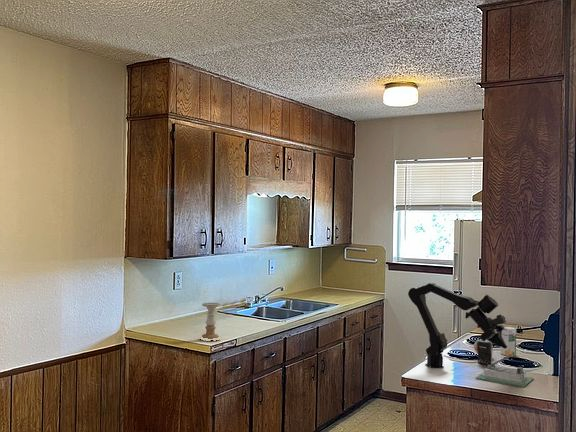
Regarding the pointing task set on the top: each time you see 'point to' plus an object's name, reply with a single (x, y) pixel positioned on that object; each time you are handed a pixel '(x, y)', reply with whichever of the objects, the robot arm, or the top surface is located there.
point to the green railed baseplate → (505, 376)
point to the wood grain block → (508, 353)
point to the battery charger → (484, 352)
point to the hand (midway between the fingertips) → (506, 347)
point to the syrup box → (509, 340)
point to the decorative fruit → (476, 345)
